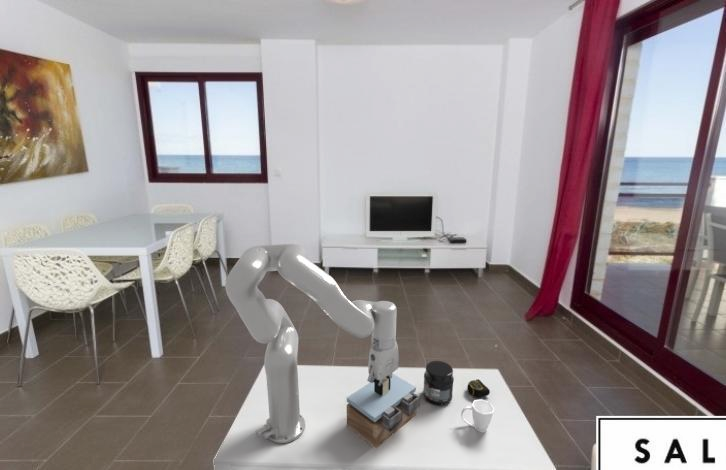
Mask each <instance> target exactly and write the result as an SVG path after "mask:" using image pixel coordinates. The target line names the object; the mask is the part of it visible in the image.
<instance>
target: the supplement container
mask: <svg viewBox="0 0 726 470" xmlns="http://www.w3.org/2000/svg"><path fill="white" fill-rule="evenodd" d="M453 374H454V370H453V367H452V366H451V364H449V363H447V362H445V361H442V360H441V361H440V360H434V361H432V360H431V361H429V362H428V363H427V364H426V365H425V371H424V374H423V391H422V395H423V398H424V399H425V400H426V401H427V402H428V403H430V404H432V405H434V406H439V407H441V406H445V405H448V404H450V403H451V401H452V399H453V390H454V381H455V378H454V375H453Z"/></svg>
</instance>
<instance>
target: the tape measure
mask: <svg viewBox="0 0 726 470" xmlns="http://www.w3.org/2000/svg"><path fill="white" fill-rule="evenodd" d="M466 390H467V391H468V394H469V395H471V396H472V397H473V398H479V399H483V398H484V397H486V396H489V395H490V391H491V390H490V389H489V388H488V386H486V384H484V383H483V382H482V381H481V380H480V379H474V380H470V381H469V382H468V384H467V386H466Z"/></svg>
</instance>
